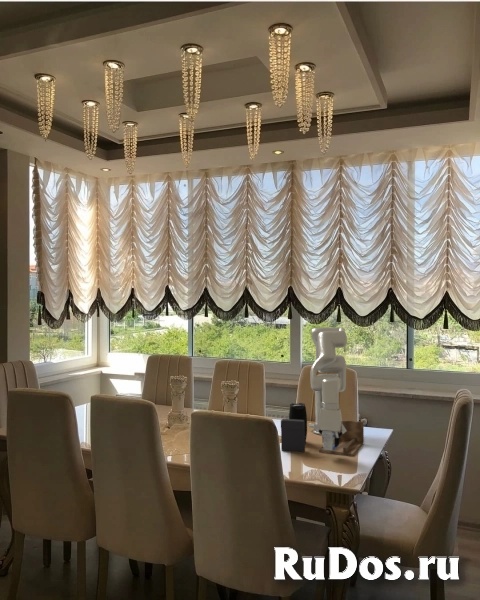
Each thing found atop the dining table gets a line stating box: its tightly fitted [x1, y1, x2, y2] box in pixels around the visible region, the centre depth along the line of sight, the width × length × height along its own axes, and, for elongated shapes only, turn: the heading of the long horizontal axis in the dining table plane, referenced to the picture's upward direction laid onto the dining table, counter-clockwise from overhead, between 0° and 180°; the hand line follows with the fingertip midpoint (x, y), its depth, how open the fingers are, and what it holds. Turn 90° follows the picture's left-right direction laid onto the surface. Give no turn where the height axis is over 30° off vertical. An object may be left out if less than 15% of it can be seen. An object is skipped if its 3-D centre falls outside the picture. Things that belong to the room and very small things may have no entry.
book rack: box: [318, 419, 365, 457], centre depth 259 cm, size 16×22×11 cm
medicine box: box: [322, 431, 339, 451], centre depth 244 cm, size 8×4×9 cm, turn 148°
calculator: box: [280, 418, 306, 454], centre depth 255 cm, size 11×4×15 cm, turn 71°
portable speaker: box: [288, 402, 308, 444], centre depth 270 cm, size 9×9×20 cm
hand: (330, 444), depth 244 cm, fingers closed on medicine box, 4 cm apart
